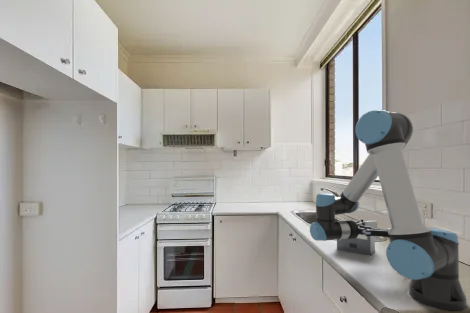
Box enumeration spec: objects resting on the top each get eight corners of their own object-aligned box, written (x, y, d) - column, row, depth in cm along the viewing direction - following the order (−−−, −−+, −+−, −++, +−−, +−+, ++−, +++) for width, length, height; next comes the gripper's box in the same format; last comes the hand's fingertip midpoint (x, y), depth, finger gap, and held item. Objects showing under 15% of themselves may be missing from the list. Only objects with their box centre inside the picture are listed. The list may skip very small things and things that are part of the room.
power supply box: (370, 256, 128) (370, 227, 128) (336, 249, 138) (336, 222, 138) (374, 250, 136) (374, 223, 136) (342, 244, 146) (342, 219, 146)
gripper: (329, 231, 125) (368, 228, 130) (366, 247, 101) (412, 244, 106) (329, 215, 126) (368, 213, 130) (366, 228, 101) (412, 225, 106)
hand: (388, 227), depth 118 cm, fingers open, 13 cm apart
